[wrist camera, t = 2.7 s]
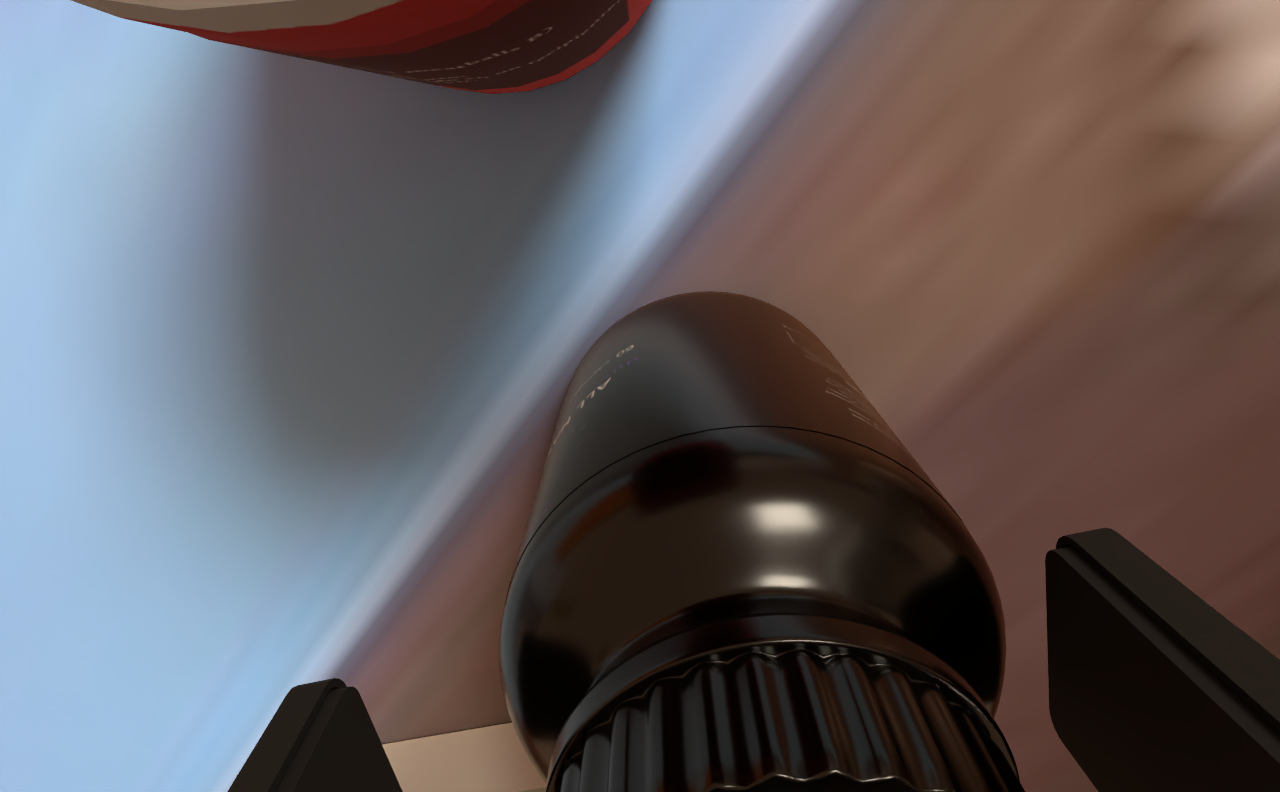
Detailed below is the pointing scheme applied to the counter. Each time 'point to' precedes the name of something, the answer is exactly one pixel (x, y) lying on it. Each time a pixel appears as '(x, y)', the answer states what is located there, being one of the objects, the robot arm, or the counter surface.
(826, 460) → the supplement bottle
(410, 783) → the plate
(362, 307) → the counter surface
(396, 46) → the canned food
